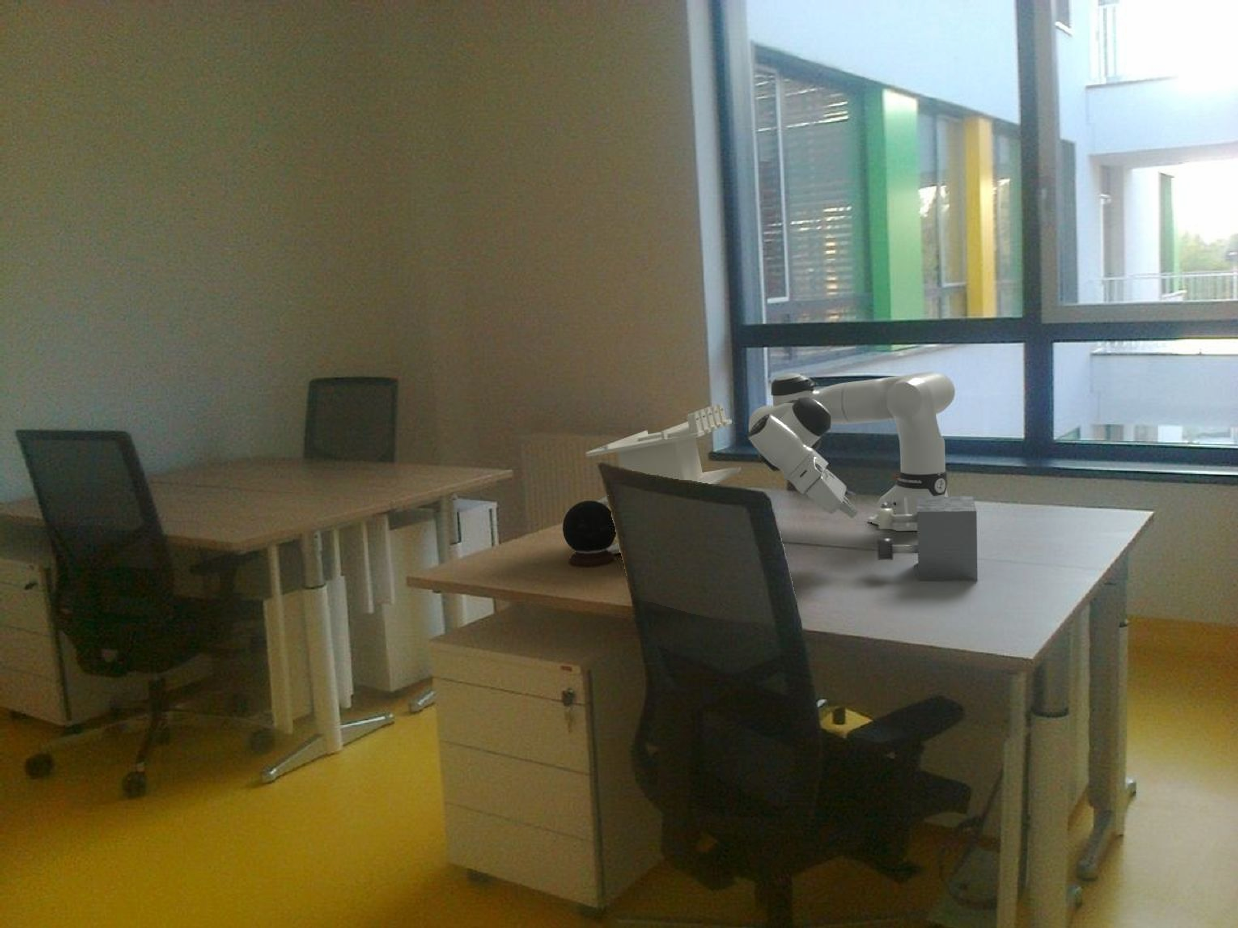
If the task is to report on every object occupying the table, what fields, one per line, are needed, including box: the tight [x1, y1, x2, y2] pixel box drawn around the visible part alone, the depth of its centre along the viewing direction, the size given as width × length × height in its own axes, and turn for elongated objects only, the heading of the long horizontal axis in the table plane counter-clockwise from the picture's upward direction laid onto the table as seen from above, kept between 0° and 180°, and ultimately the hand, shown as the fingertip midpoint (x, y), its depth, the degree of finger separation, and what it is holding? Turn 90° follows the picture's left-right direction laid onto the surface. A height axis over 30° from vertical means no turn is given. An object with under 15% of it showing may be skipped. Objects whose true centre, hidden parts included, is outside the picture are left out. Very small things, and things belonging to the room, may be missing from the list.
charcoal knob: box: [877, 537, 918, 561], centre depth 250 cm, size 10×5×5 cm, turn 76°
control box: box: [916, 495, 978, 582], centre depth 251 cm, size 12×16×15 cm
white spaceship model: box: [585, 403, 743, 555], centre depth 292 cm, size 26×31×35 cm
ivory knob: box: [877, 508, 917, 530], centre depth 257 cm, size 10×5×5 cm, turn 76°
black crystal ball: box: [562, 500, 617, 568], centre depth 281 cm, size 13×13×15 cm
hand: (855, 514), depth 259 cm, fingers closed
